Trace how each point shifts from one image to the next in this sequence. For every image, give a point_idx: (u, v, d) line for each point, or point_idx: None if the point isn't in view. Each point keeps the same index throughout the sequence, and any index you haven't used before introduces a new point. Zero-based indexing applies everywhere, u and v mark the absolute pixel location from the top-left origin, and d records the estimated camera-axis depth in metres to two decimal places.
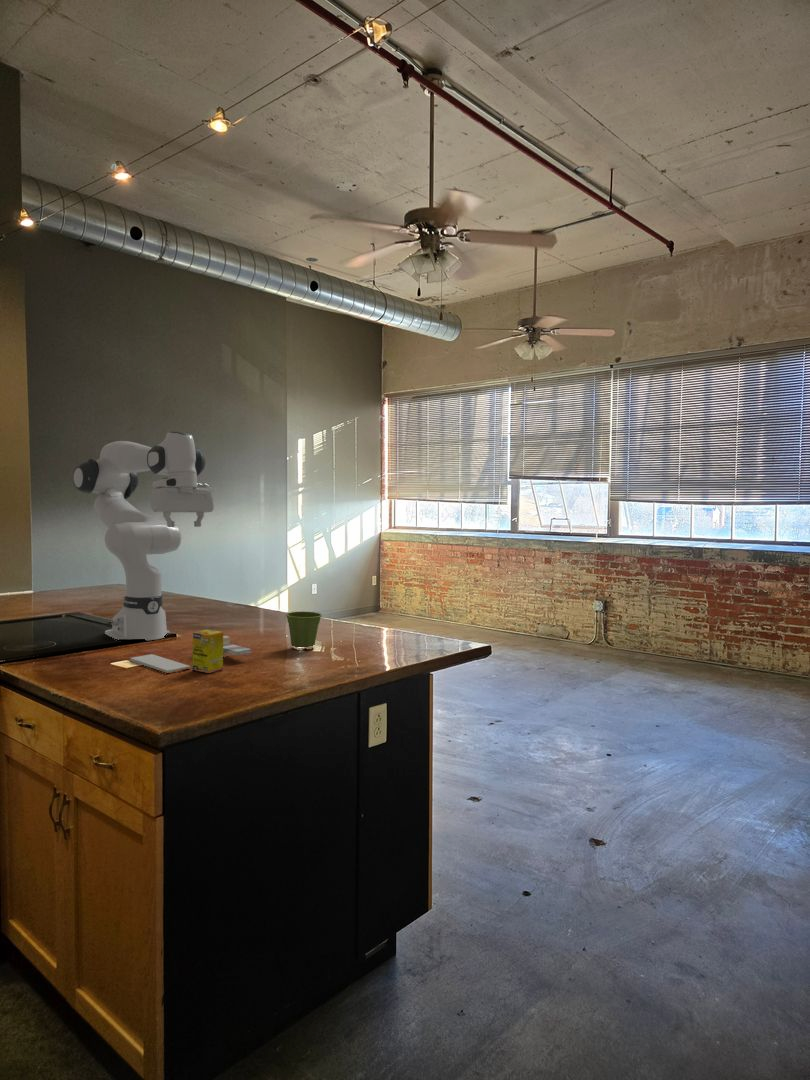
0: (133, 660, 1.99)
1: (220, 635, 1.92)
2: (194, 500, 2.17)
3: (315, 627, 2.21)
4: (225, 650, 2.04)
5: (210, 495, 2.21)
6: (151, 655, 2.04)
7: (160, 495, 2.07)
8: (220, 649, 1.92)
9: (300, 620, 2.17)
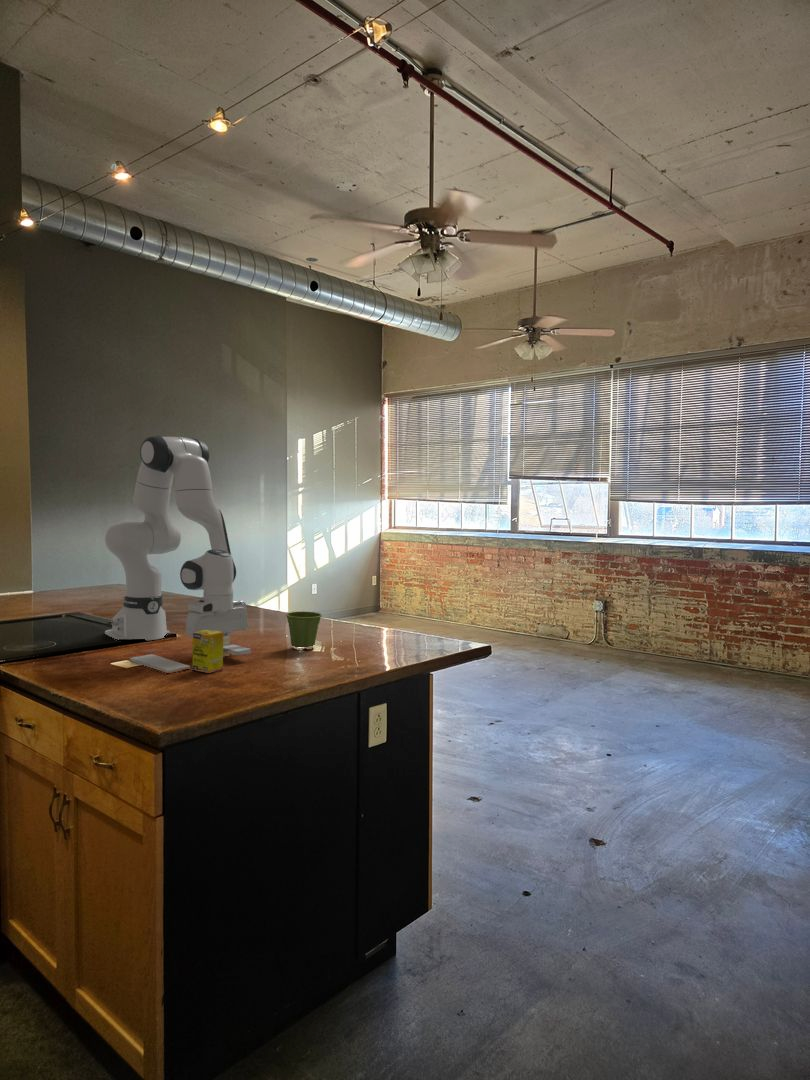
0: (133, 660, 1.99)
1: (220, 635, 1.92)
2: (228, 621, 2.11)
3: (315, 627, 2.21)
4: (225, 650, 2.04)
5: (245, 613, 2.16)
6: (151, 655, 2.04)
7: (196, 622, 2.02)
8: (220, 649, 1.92)
9: (300, 620, 2.17)
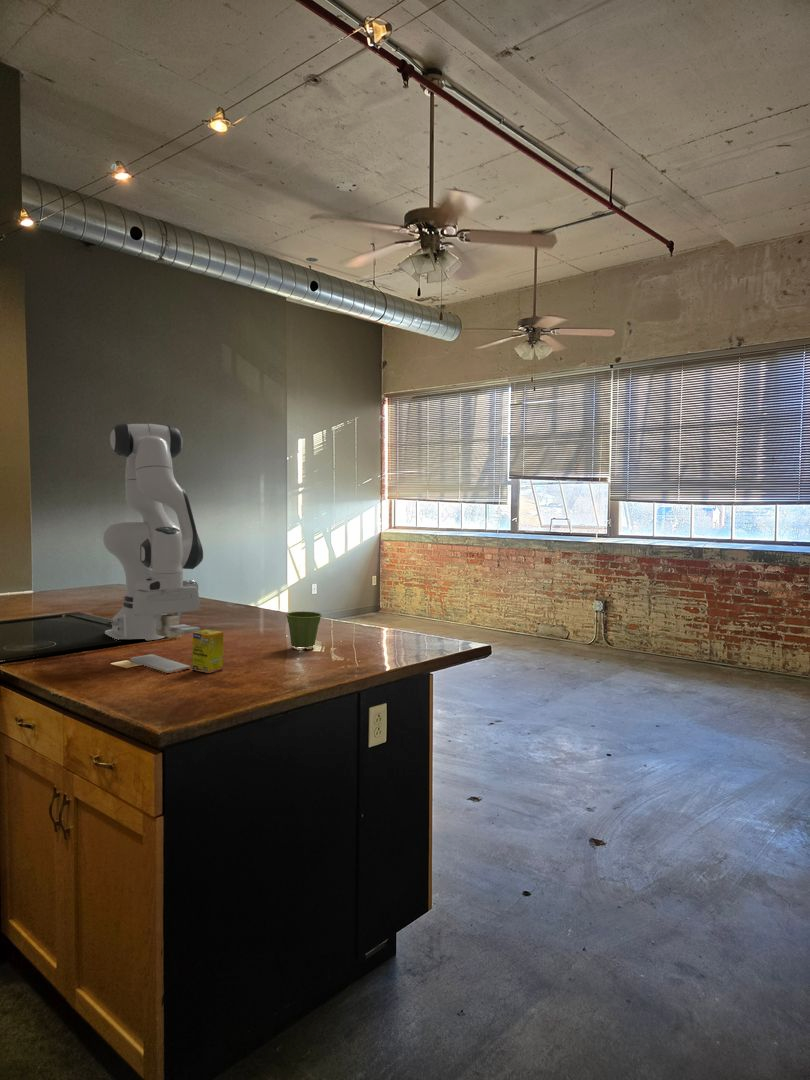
0: (133, 660, 1.99)
1: (220, 635, 1.92)
2: (178, 600, 2.05)
3: (315, 627, 2.21)
4: (173, 629, 1.98)
5: (196, 593, 2.10)
6: (151, 655, 2.04)
7: (142, 600, 1.96)
8: (220, 649, 1.92)
9: (300, 620, 2.17)
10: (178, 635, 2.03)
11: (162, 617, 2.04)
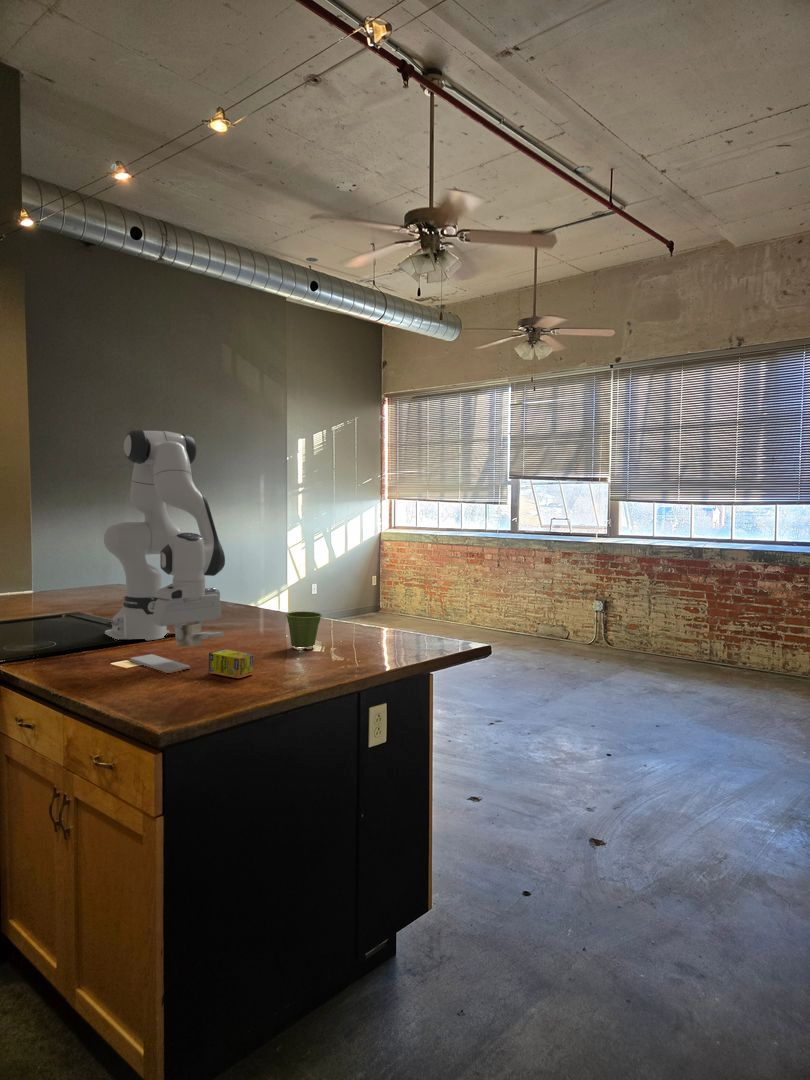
0: (133, 660, 1.99)
1: None
2: (200, 609, 1.98)
3: (315, 627, 2.21)
4: (196, 636, 1.91)
5: (218, 601, 2.03)
6: (151, 655, 2.04)
7: (164, 609, 1.89)
8: None
9: (300, 620, 2.17)
10: (200, 643, 1.96)
11: (182, 626, 1.97)
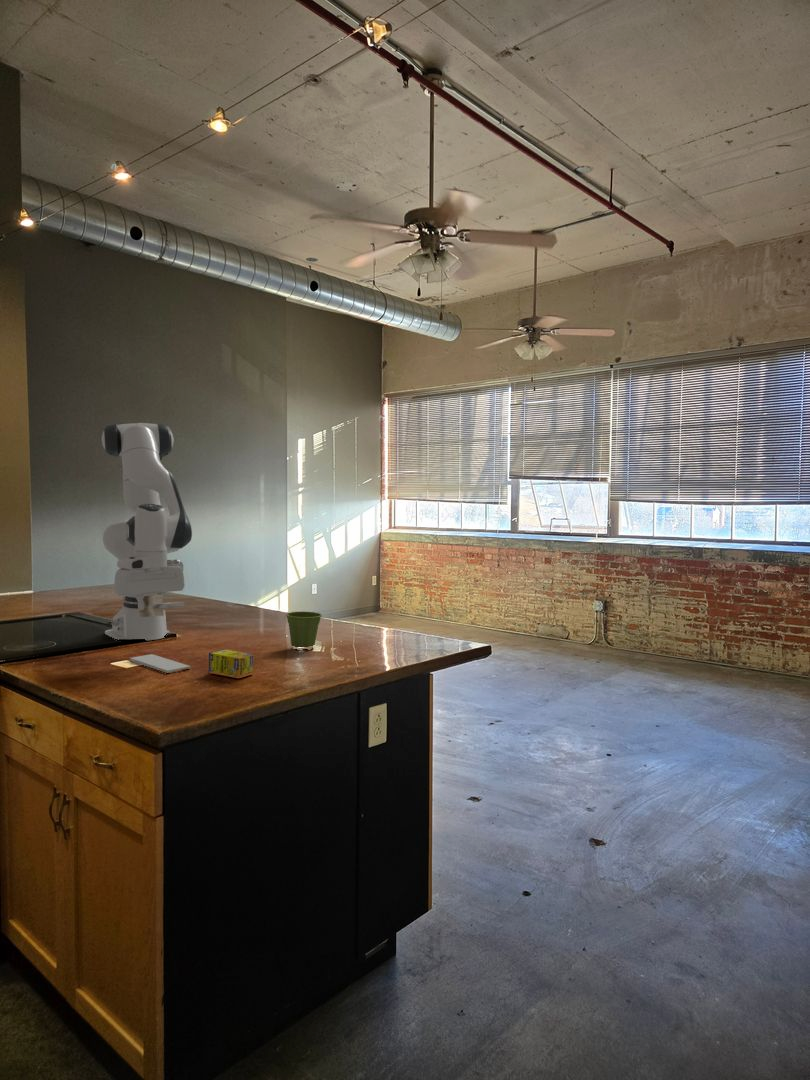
0: (133, 660, 1.99)
1: None
2: (162, 580, 1.99)
3: (315, 627, 2.21)
4: (157, 606, 1.92)
5: (181, 573, 2.03)
6: (151, 655, 2.04)
7: (124, 579, 1.89)
8: None
9: (300, 620, 2.17)
10: (162, 614, 1.97)
11: (144, 597, 1.97)
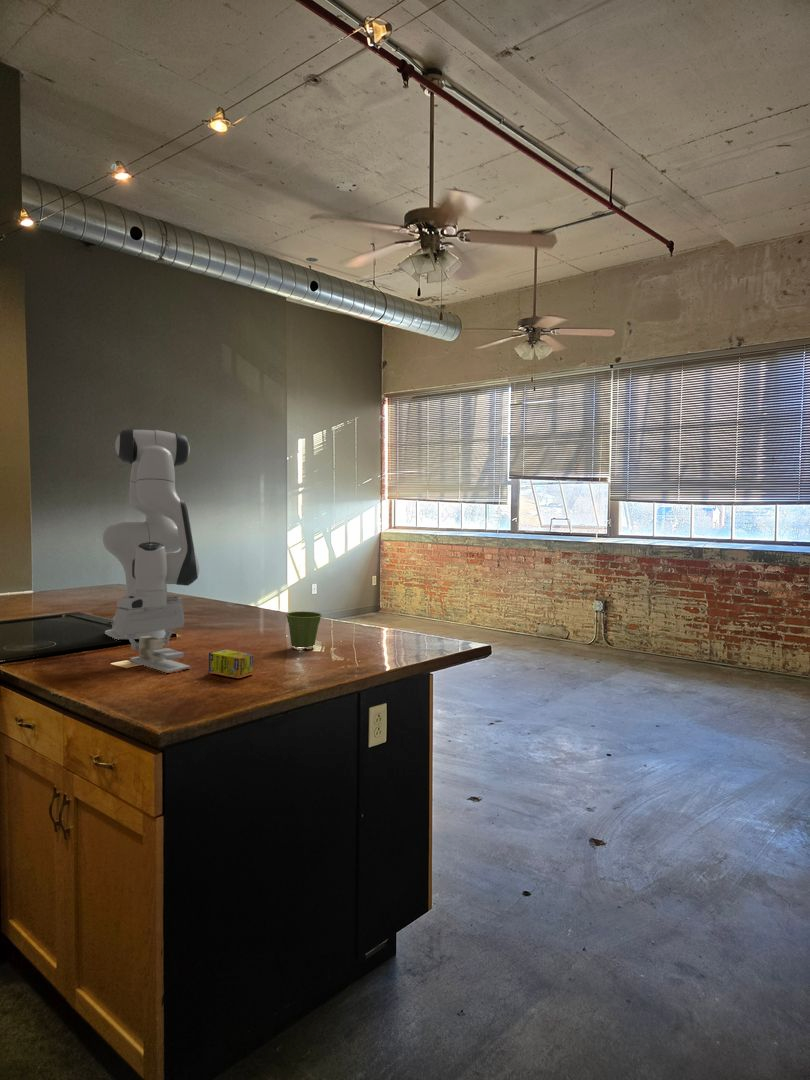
0: (133, 660, 1.99)
1: None
2: (162, 618, 2.00)
3: (315, 627, 2.21)
4: (156, 654, 1.92)
5: (181, 610, 2.04)
6: None
7: (124, 619, 1.90)
8: None
9: (300, 620, 2.17)
10: (162, 659, 1.98)
11: (145, 640, 1.98)
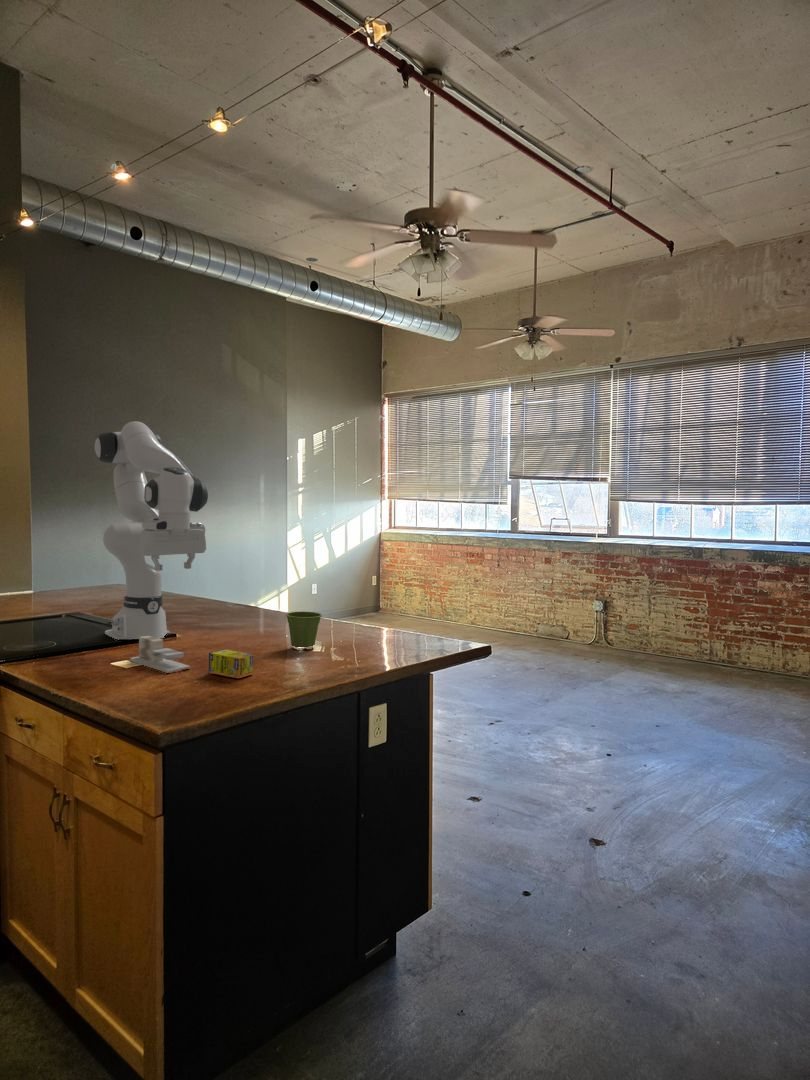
0: (133, 660, 1.99)
1: None
2: (185, 542, 2.05)
3: (315, 627, 2.21)
4: (156, 654, 1.92)
5: (203, 536, 2.09)
6: None
7: (149, 539, 1.95)
8: None
9: (300, 620, 2.17)
10: (162, 659, 1.98)
11: (145, 640, 1.98)
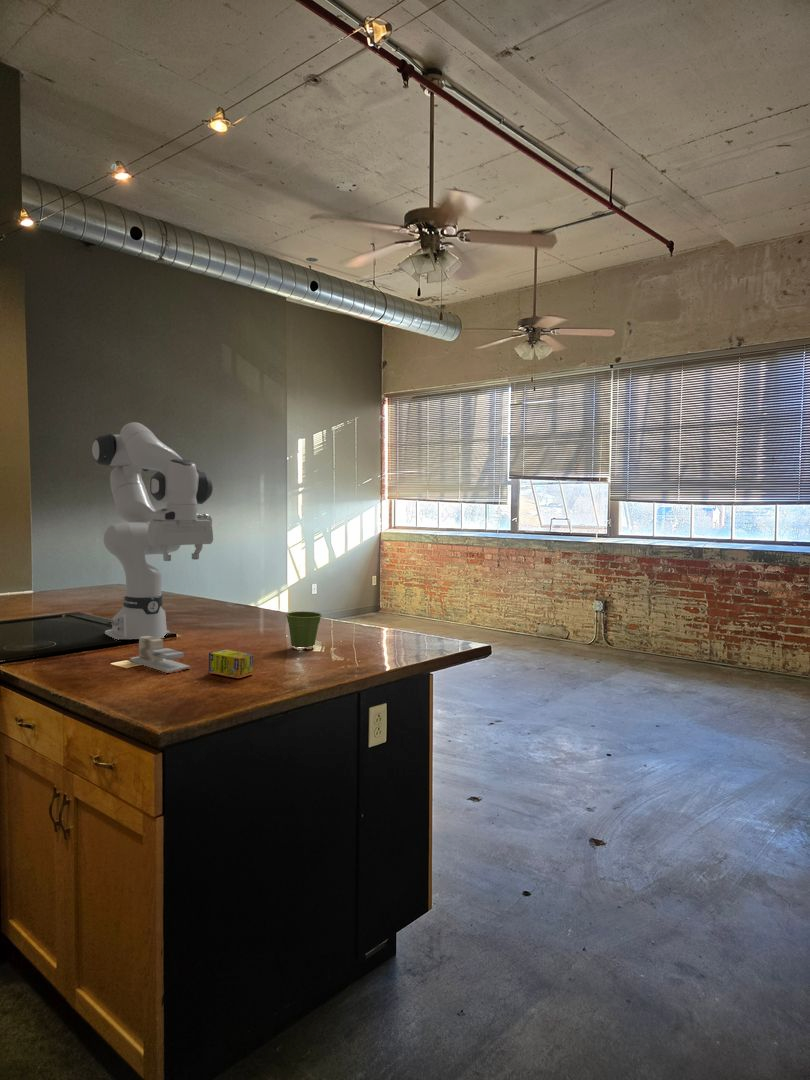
0: (133, 660, 1.99)
1: None
2: (193, 532, 2.07)
3: (315, 627, 2.21)
4: (156, 654, 1.92)
5: (210, 527, 2.11)
6: None
7: (158, 529, 1.97)
8: None
9: (300, 620, 2.17)
10: (162, 659, 1.98)
11: (145, 640, 1.98)
